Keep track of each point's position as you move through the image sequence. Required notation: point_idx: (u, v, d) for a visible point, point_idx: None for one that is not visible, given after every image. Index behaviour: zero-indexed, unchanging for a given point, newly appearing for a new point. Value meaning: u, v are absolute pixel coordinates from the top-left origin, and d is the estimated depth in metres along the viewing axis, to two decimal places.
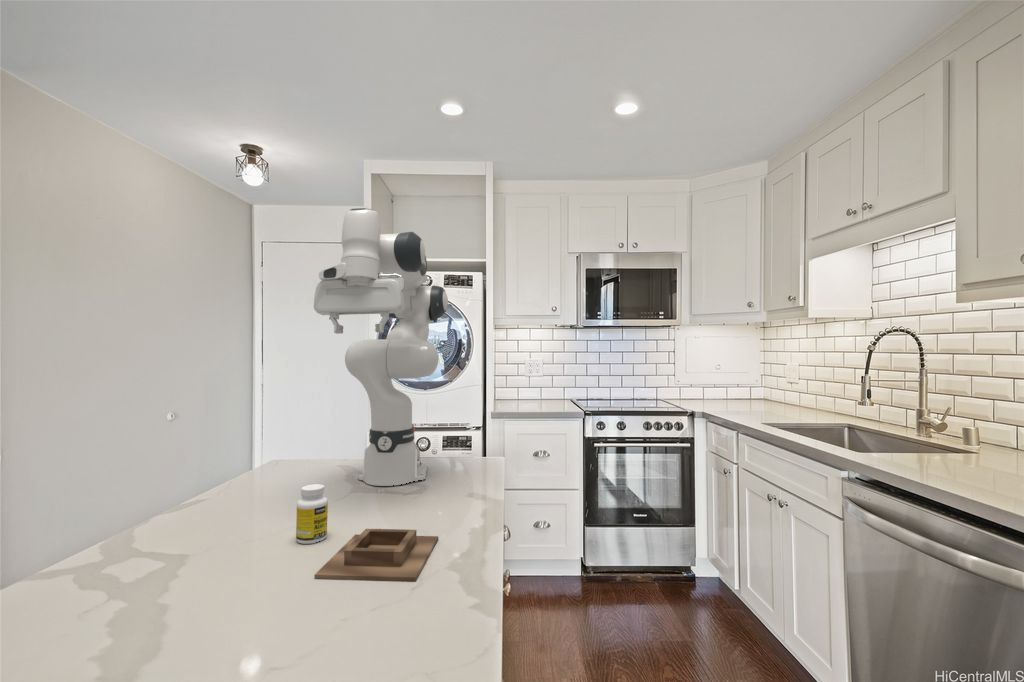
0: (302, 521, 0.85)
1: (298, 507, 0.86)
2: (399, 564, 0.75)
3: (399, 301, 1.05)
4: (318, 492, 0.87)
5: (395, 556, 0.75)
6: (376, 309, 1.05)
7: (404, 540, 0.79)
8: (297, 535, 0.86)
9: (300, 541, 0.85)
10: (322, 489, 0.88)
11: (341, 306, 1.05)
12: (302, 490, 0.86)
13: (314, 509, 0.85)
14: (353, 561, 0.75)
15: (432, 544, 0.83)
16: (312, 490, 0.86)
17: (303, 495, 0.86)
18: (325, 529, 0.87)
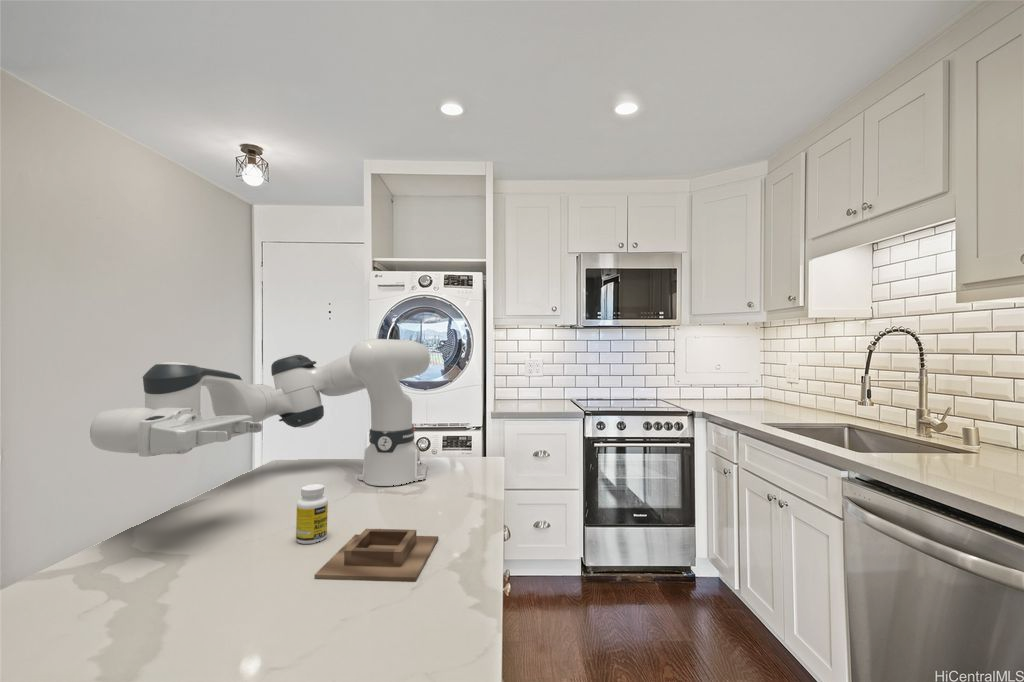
0: (302, 521, 0.85)
1: (298, 507, 0.86)
2: (399, 564, 0.75)
3: None
4: (317, 492, 0.87)
5: (395, 556, 0.75)
6: (236, 419, 0.94)
7: (404, 540, 0.79)
8: (297, 535, 0.86)
9: (300, 541, 0.85)
10: (322, 489, 0.88)
11: (202, 424, 0.86)
12: (302, 490, 0.86)
13: (314, 509, 0.85)
14: (353, 561, 0.75)
15: (432, 544, 0.83)
16: (312, 490, 0.86)
17: (303, 495, 0.86)
18: (325, 529, 0.87)
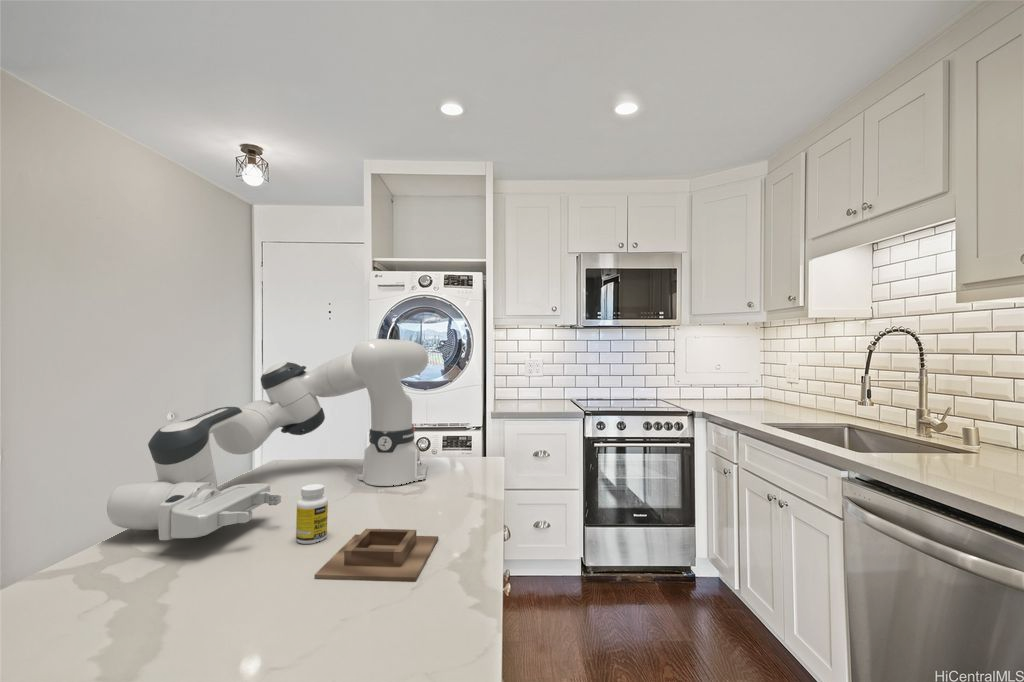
0: (302, 521, 0.85)
1: (298, 507, 0.86)
2: (399, 564, 0.75)
3: (262, 483, 0.98)
4: (318, 492, 0.87)
5: (395, 556, 0.75)
6: (254, 491, 0.93)
7: (404, 540, 0.79)
8: (297, 535, 0.86)
9: (300, 541, 0.85)
10: (322, 489, 0.88)
11: (223, 503, 0.85)
12: (302, 490, 0.86)
13: (314, 509, 0.85)
14: (353, 561, 0.75)
15: (432, 544, 0.83)
16: (312, 490, 0.86)
17: (303, 495, 0.86)
18: (325, 529, 0.87)
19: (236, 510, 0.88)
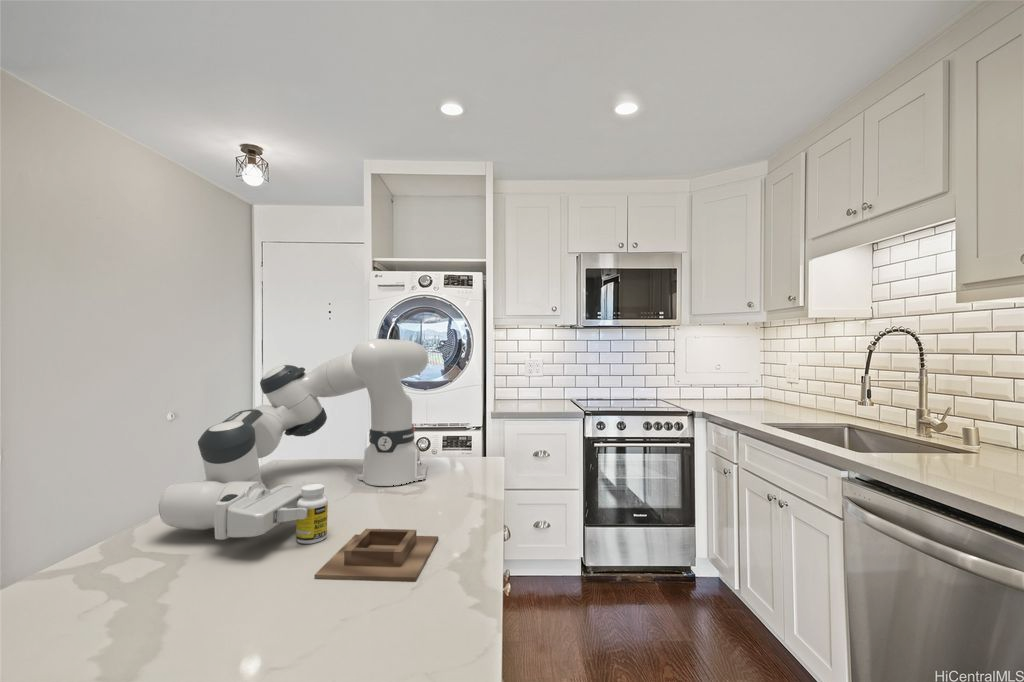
0: (302, 521, 0.85)
1: (298, 507, 0.86)
2: (399, 564, 0.75)
3: None
4: (317, 492, 0.87)
5: (395, 556, 0.75)
6: None
7: (404, 540, 0.79)
8: (297, 535, 0.86)
9: (300, 541, 0.85)
10: (322, 489, 0.88)
11: (276, 502, 0.85)
12: (302, 490, 0.86)
13: (314, 509, 0.85)
14: (353, 561, 0.75)
15: (432, 544, 0.83)
16: (312, 490, 0.86)
17: (303, 495, 0.86)
18: (325, 529, 0.87)
19: None
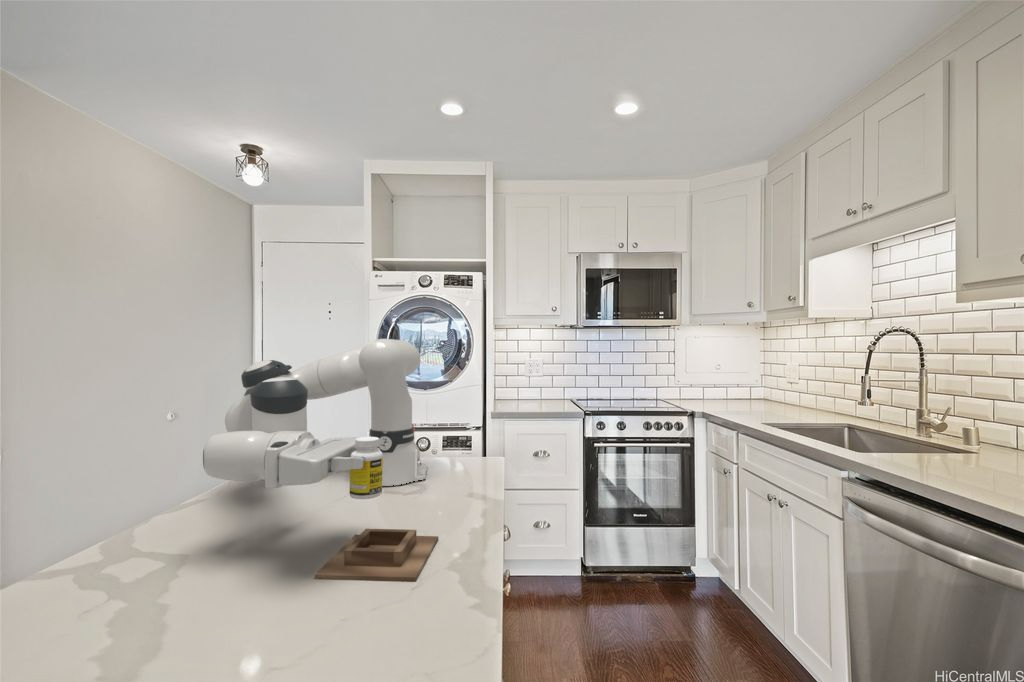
0: (357, 474, 0.78)
1: None
2: (399, 564, 0.75)
3: None
4: (373, 443, 0.79)
5: (395, 556, 0.75)
6: (354, 443, 0.85)
7: (404, 540, 0.79)
8: (351, 490, 0.78)
9: (355, 496, 0.78)
10: (377, 441, 0.80)
11: (329, 451, 0.77)
12: (356, 441, 0.79)
13: (369, 461, 0.78)
14: (353, 561, 0.75)
15: (432, 544, 0.83)
16: (367, 441, 0.79)
17: (358, 446, 0.79)
18: (380, 484, 0.80)
19: None
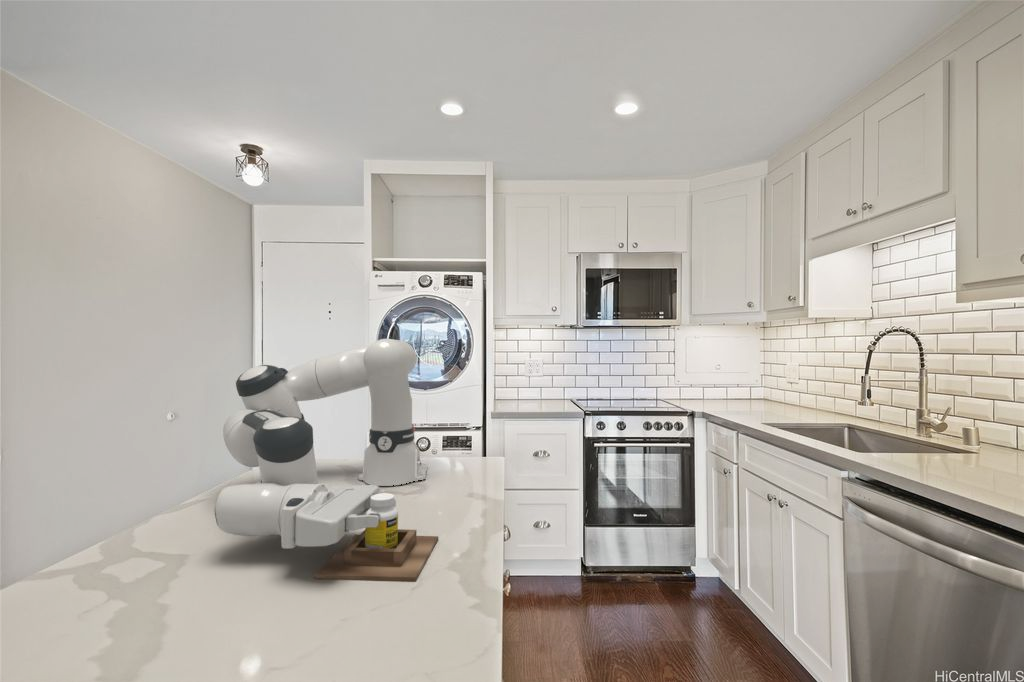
0: (373, 535, 0.77)
1: None
2: (399, 564, 0.75)
3: (370, 485, 0.90)
4: (389, 502, 0.79)
5: (395, 556, 0.75)
6: (368, 493, 0.84)
7: (404, 540, 0.79)
8: None
9: None
10: (393, 499, 0.80)
11: (345, 507, 0.77)
12: (372, 500, 0.78)
13: (386, 521, 0.77)
14: (353, 561, 0.75)
15: (432, 544, 0.83)
16: (383, 500, 0.78)
17: (373, 506, 0.78)
18: (396, 543, 0.79)
19: None
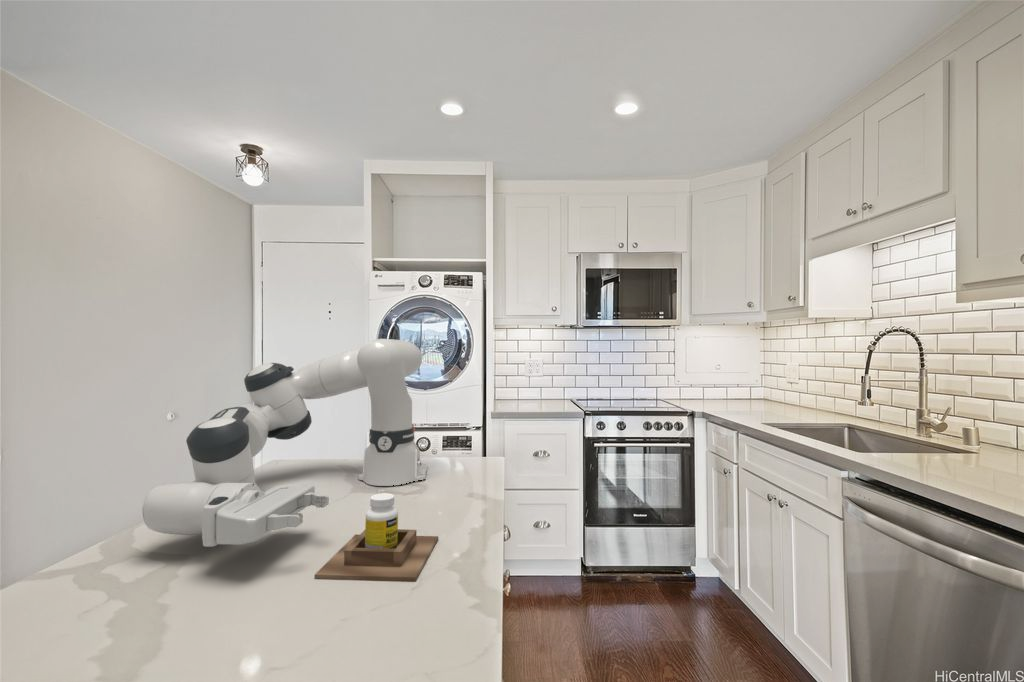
0: (373, 535, 0.77)
1: (368, 519, 0.78)
2: (399, 564, 0.75)
3: None
4: (389, 502, 0.79)
5: (395, 556, 0.75)
6: (300, 492, 0.85)
7: (404, 540, 0.79)
8: None
9: None
10: (393, 499, 0.80)
11: (270, 505, 0.77)
12: (372, 500, 0.78)
13: (386, 521, 0.77)
14: (353, 561, 0.75)
15: (432, 544, 0.83)
16: (383, 500, 0.78)
17: (373, 506, 0.78)
18: (396, 543, 0.79)
19: (283, 513, 0.80)
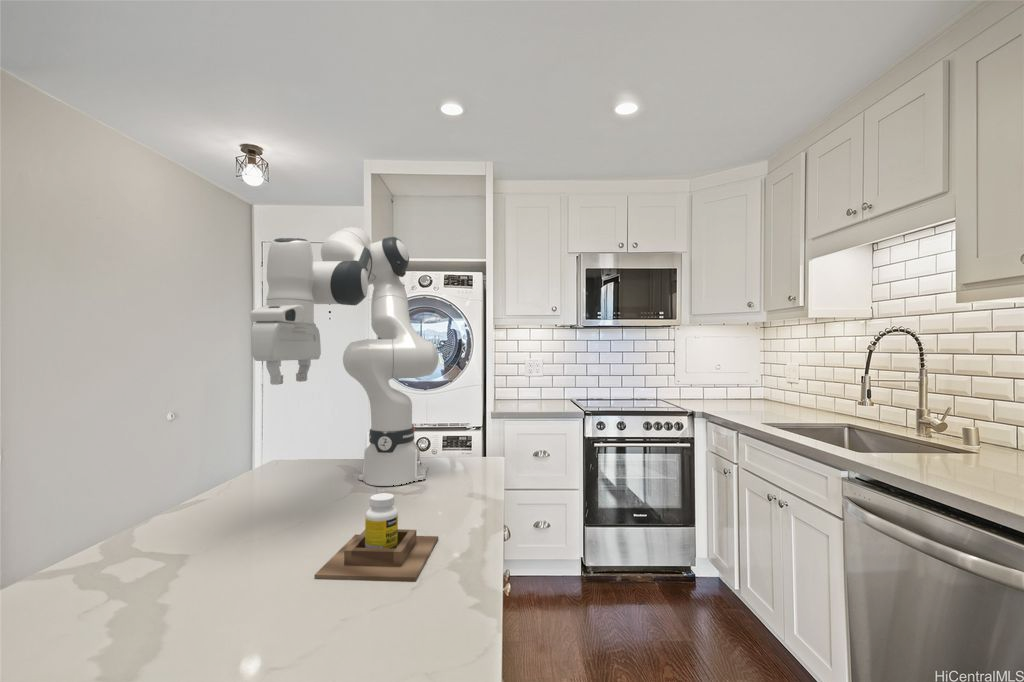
0: (373, 535, 0.77)
1: (368, 519, 0.78)
2: (399, 564, 0.75)
3: (320, 350, 1.04)
4: (389, 502, 0.79)
5: (395, 556, 0.75)
6: (308, 358, 0.99)
7: (404, 540, 0.79)
8: None
9: None
10: (393, 499, 0.80)
11: (289, 353, 0.91)
12: (372, 500, 0.78)
13: (385, 521, 0.77)
14: (353, 561, 0.75)
15: (432, 544, 0.83)
16: (383, 500, 0.78)
17: (373, 506, 0.78)
18: (396, 543, 0.79)
19: None
